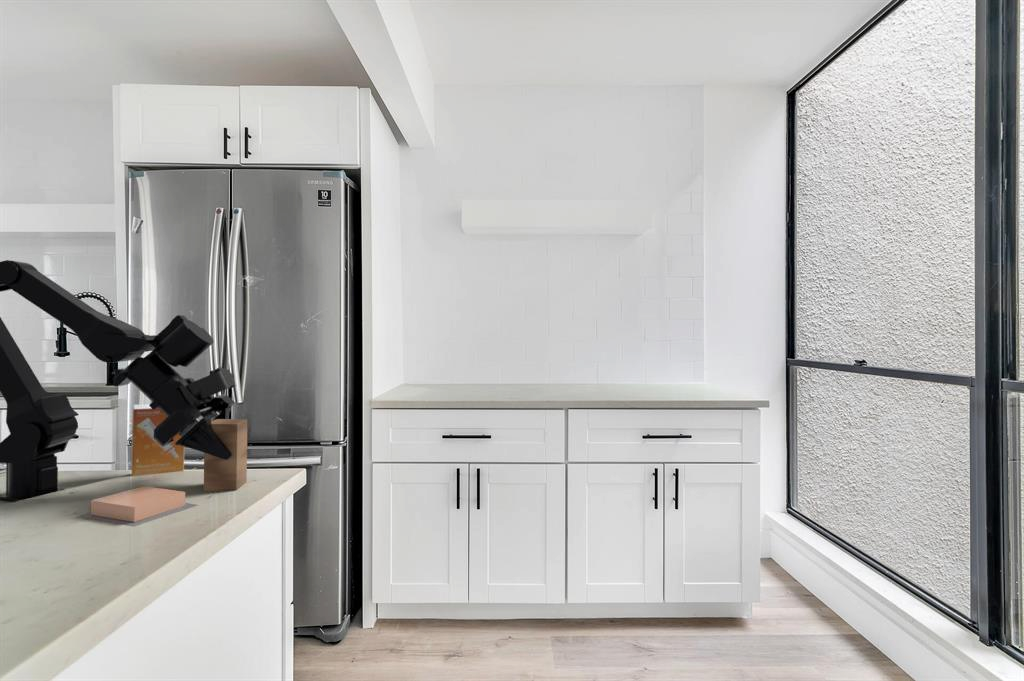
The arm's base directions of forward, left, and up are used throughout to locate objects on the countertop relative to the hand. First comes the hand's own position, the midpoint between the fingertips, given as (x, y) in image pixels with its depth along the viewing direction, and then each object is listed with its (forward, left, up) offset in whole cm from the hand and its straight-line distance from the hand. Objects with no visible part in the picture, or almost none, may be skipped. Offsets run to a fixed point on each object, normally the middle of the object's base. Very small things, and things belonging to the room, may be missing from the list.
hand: (235, 453), depth 95 cm
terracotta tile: (-4, -15, -5) cm, 16 cm away
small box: (-20, +4, -7) cm, 22 cm away
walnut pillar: (-1, -1, -7) cm, 7 cm away
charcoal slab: (-3, -15, -7) cm, 17 cm away
